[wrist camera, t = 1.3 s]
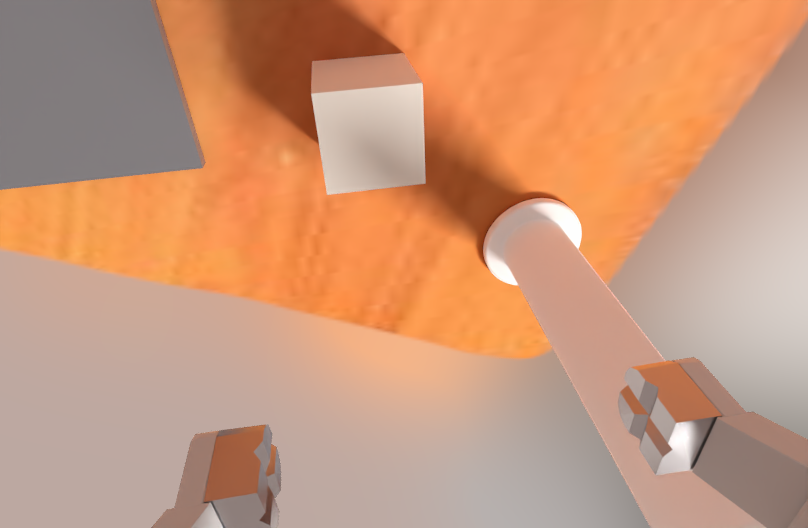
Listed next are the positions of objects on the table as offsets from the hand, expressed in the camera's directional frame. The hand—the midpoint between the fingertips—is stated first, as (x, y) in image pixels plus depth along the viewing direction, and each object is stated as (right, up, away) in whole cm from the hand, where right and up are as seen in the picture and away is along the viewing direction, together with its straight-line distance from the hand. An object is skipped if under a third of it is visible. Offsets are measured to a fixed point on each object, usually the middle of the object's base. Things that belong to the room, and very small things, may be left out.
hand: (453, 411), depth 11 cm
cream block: (-3, +13, +17) cm, 22 cm away
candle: (+8, +5, +25) cm, 26 cm away
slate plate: (-18, +13, +14) cm, 27 cm away
